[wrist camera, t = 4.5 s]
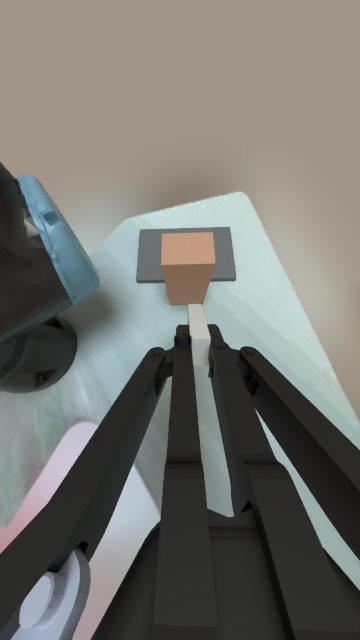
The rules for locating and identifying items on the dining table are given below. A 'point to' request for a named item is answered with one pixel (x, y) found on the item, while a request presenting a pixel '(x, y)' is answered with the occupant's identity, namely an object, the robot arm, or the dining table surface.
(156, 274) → the rubber mat
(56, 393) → the dining table surface
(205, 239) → the tall block
